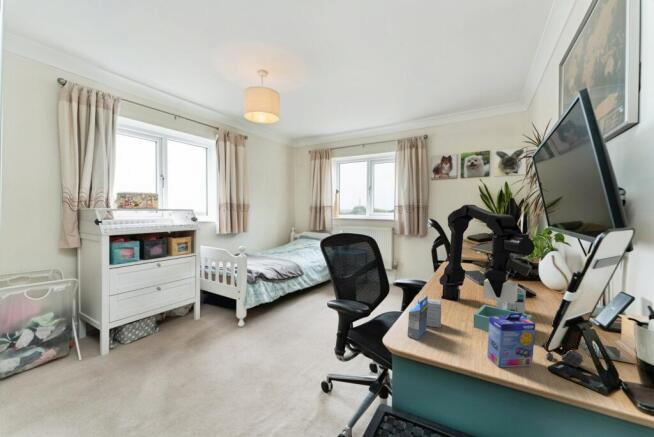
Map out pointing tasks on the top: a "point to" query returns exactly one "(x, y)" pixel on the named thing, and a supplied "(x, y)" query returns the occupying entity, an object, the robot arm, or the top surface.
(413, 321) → the label tape box
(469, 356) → the top surface
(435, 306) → the medicine box
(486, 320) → the box
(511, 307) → the light bulb box
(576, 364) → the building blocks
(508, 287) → the small crate
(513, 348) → the ink cartridge box
